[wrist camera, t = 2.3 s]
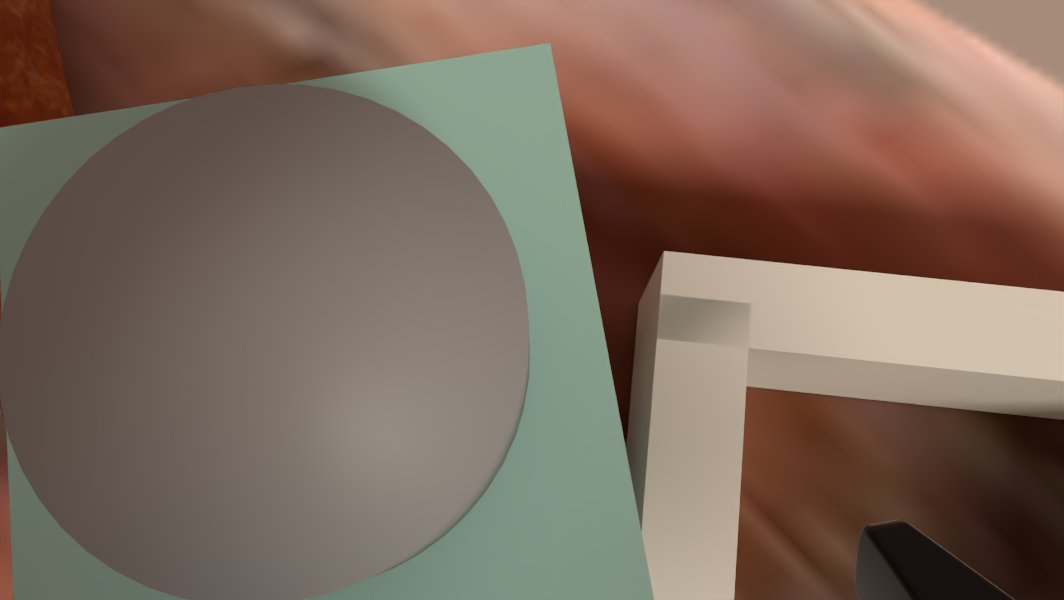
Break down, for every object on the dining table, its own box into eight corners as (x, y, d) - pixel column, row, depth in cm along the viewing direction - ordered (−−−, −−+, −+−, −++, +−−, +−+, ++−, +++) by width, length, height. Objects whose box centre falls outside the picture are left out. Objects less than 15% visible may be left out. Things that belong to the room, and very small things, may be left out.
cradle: (1196, 914, 17) (1391, 1032, 13) (592, 841, 17) (609, 934, 14) (1171, 358, 19) (1332, 319, 15) (638, 303, 20) (663, 251, 16)
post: (574, 547, 19) (680, 634, 5) (373, 582, 18) (-87, 771, 5) (540, 350, 19) (552, -37, 6) (349, 382, 19) (-99, 62, 6)
